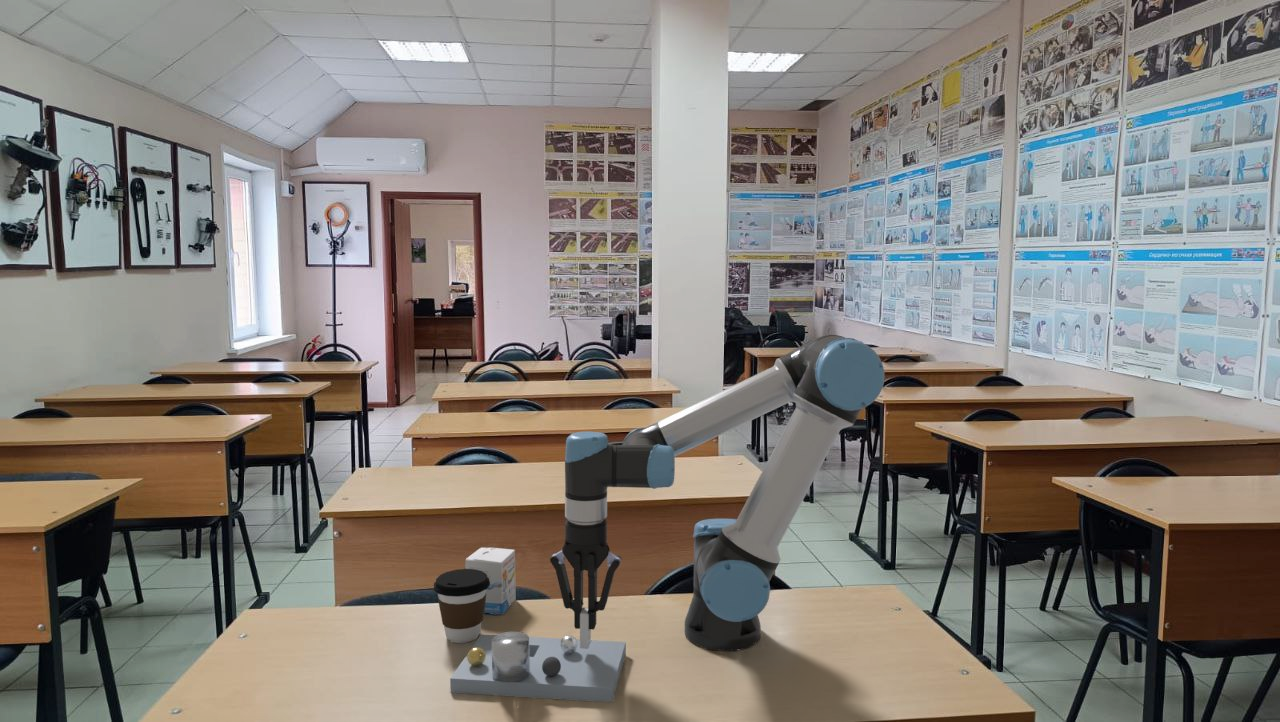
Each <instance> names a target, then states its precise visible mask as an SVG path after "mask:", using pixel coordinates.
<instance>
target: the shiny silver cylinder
mask: <svg viewBox="0 0 1280 722" xmlns="http://www.w3.org/2000/svg"><path fill="white" fill-rule="evenodd" d="M495 635H496V636H495V637H494V638H493V639H492V676H493V678H494V679H495V680H497V681H500V682H517V681H520V680H523V679H525V678H526V677H527V676H528V675H529V673H530V649H529V637H530V636H529V635H528V634H527V633H524V632H522V631H513V630H512V631H505V632H501V633H499V634H495Z"/></svg>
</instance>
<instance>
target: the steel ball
mask: <svg viewBox="0 0 1280 722" xmlns="http://www.w3.org/2000/svg"><path fill="white" fill-rule="evenodd" d="M561 639H562V640H561V642H560V648H561V650H562V651H563V652H564V653H566V654H571V653H573V652H575V650H576V649H577V646H578V642H577V640H576V637H575V636H574V635H570V634H568V635H565V636H563V637H562V638H561Z"/></svg>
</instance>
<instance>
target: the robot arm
mask: <svg viewBox="0 0 1280 722" xmlns="http://www.w3.org/2000/svg"><path fill="white" fill-rule="evenodd" d="M883 365H884V364H883V362H882V360H881V357H880V356H879V355H878V354H877V352H876V351H875V350H874V349H873V348H872V347H871V346H869V345H868V344H866V343H864V342H863V341H862V340H858V339H855V338H851V337H845V336H841V335H837V334H825V335H822V336H819V337H817V338H814V339H812V340H810V341H808V342H806V343H805V344H802V345H800V346H799V347H796V348H795V349H793V350H791V351H790V352H788V353H786V354H784V355H782V356H780V357H779V358H778V357H777V358H776V359H775V362H774V365H773V366H772V367H770V368H767V369H765V370H763V371H760V372H759V373H756V374H754V375H752V376H751V377H750V376H749V378H746V379H745V380H744V379H743V380H742V381H740V382H738V383H736V384H734V385H731V386H729V387H727V388H726V389H724V390H722V391H720V392H719V391H718V392H717V393H715V394H713V395H711V396H708V397H707V398H705V399H703V400H700V401H699V402H696V403H695V404H692V405H690V406H688V407H686V408H684V409H682V410H680V411H677V412H675V413H674V414H671V415H669V416H667V417H665V418H663V419H661V420H659V421H657V422H655V423H652V424H650V425H649V426H646V427H638V428H635V429H633V430H631V431H630V432H629V433H628V434H627V435H626V436H625V438H624V440H623V441H622V444H610V441H609V440H608V438H609V437H608V435H606V433H603V432H600V431H599V432H598V431H596V432H595V431H578V432H573V433H571V434H569V435H568V437H566V441H565V456H564V458H565V459H564V482H565V484H564V486H565V489H564V491H565V492H564V493H565V494H564V517H565V518H566V520H565V521H564V544H563V546H562V549H561V550H560V551H558V552H554V553H552V555H551V557H550V559H549V563H550V564H551V565H552V566H553V568H554V570H555V573H556V577H557V582H558V586H559V591H560V594H561V598H562V599H561V600H562V601H563V603H562V604H563V606H564V608H565V609H570V610H572V611H573V612H574V616H573V618H574V619H573V620H574V622H573V623H574V628H575V629H576V630H577V629H579V640H580V648H583V649H588V647H589V645H590V642H591V640H592V639H591V636H592V634H591V633H592V630H595V629H596V625H597V612H599V611H604V610H605V609H606V606H607V602H608V599H609V595H610V591H611V588H612V584H613V581H614V580H613V579H614V576H615V573H616V570H617V569H618V568H619V566H620V563H621V562H622V557H621V556H620V555H615V554H614V553H612V552H611V551H610V550H611V549H610V546H609V543H608V520H606V518H607V517H608V488H637V489H638V488H644V489H660V488H661V489H662V488H670V487H672V486H673V485H674V482H675V475H676V474H675V472H676V471H675V468H676V465H675V463H676V462H675V461H676V459H675V457H677V456H680V455H681V454H683V453H686V452H687V451H689V450H691V449H693V448H696V447H698V446H700V445H702V444H704V443H706V442H708V441H711V440H713V439H715V438H718V437H719V436H721V435H723V434H725V433H728V432H730V431H732V430H735V429H736V428H738V427H741V426H743V425H744V424H746V423H748V422H752V421H753V420H755V419H757V418H759V417H761V416H763V415H765V414H768V413H770V412H772V411H774V410H776V409H779V408H780V407H782V406H784V405H786V404H789V403H795V409H794V410H793V413H792V414H791V416H790V418H789V420H788V421H787V424H786V425H785V428H784V429H783V432H782V433H781V435H780V437H779V439H778V441H777V443H776V444H775V447H774V449H772V450H773V451H772V453H771V454H770V456H769V457H768V460H767V462H766V464H765V466H764V467H763V469H762V471H761V473H760V475H759V477H758V479H757V480H756V482H755V485H754V486H753V488H752V490H751V492H750V493H749V496H748V497H747V499H746V501H745V503H744V506H743V507H742V509H741V511H740V512H739V514H738V517H737V519H736V518H708V519H703V520H700V521H698V522H697V523H695V525H694V530H693V535H692V538H693V596H692V598H691V601H690V604H689V607H688V610H687V613H686V616H685V619H684V636H685V637H686V639H687V640H688V641H689V642H691V643H692V644H695V645H696V646H699V647H701V648H704V649H709V650H713V651H714V650H715V651H723V652H724V651H725V652H726V651H737V650H739V651H740V650H743V649H748V648H750V647H752V646H754V645H755V644H757V643H758V642H759V641H760V640H761V637H762V636H761V634H762V632H761V629H762V628H761V627H762V626H761V621H760V618H759V614H761V613H762V612H763V610H764V609H765V608H766V606H767V604H768V602H769V600H770V599H769V598H770V593H771V586H770V584H771V583H770V581H771V579H772V577H773V575H774V573H776V570H777V567H779V565H780V562H781V560H782V559H781V557H780V553H779V550H778V549H779V548H778V547H779V546H780V543H781V541H782V540H783V538H784V536H785V534H786V532H787V531H788V528H789V527H790V525H791V523H792V521H793V519H794V518H795V516H796V514H797V512H798V510H799V507H800V506H801V504H802V502H803V501H804V498H805V497H806V495H807V493H808V492H809V490H810V487H811V486H812V485H813V484H812V483H813V482H814V480H815V478H816V477H817V474H818V473H819V471H820V469H821V467H822V465H823V463H824V461H825V460H826V457H827V456H828V454H829V452H830V449H831V448H832V447H833V445H834V442H835V441H836V439H837V437H838V435H839V433H840V431H841V430H843V429H846V428H848V427H849V428H850V427H852V426H854V424H855V422H856V420H857V419H858V417H859V415H860V413H861V411H862V409H864V408H866V407H868V406H870V405H872V404H873V402H875V401H876V399H877V398H878V397H879V396H880V394H881V392H882V390H883V388H884V384H885V368H884V366H883ZM606 559H607V562H606V565H607V567H608V569H607V571H606V575H605V579H604V582H603V586H602V590H601V594H600V598H599V600H598V570H599V568H600V567H601V565H602V564H603V562H604V561H605V560H606ZM566 560H567V562H568V563H569V564H570V566H571V567H572V568H573V592H572V588H571V585H570V581H569V580H570V579H569V577H568V572H567V568H566V565H565V561H566ZM584 571H587V581H588V582H587V583H588V586H587V587H588V588H587V590H588V591H587V607H583V606H584Z"/></svg>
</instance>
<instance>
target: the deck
mask: <svg viewBox="0 0 1280 722" xmlns="http://www.w3.org/2000/svg"><path fill="white" fill-rule="evenodd" d="M496 635H497V634H483V633H482V634H480V636H478V637H479V638H477V639H476V642H475V643H474V645H473V646H472V647H471V649H472V648H474V647H480V648H482V649H483V650H484V651H485V654H486V658H485V661H484V662H483V663H482V664H481V665H480V666H472V665H470V664H469V662H468V660H467V655H468V653H467V654H466V656H465V657H464V659H463V660H462V661H461V663H460V664H459V665H458V666H457V668H456V669H455V671H454V672H453V673H452V675H451V676H450V679H449V682H450V686H449V687H450V689H449V690H450V693H453V694H455V693H456V694H457V693H458V694H470V695H489V696H501V697H502V696H504V697H519V698H520V697H521V698H534V699H552V700H553V699H554V700H566V701H567V700H568V701H583V702H585V701H586V702H600V703H613V700H614V697H615V695H616V691H617V687H618V684H619V681H620V676H621V673H622V670H623V666H624V662H625V659H626V656H627V653H626V652H627V647H626V644H627V643H626V641H612V640H593V639H591V642H590V645H589V647H588V649H583V648H580V639H576V640H577V642H578V646H577V649H576V650H575V652H573V653H571V654H566V653H564V652H563V651H562V650H561V648H560V642H561V640H562V638H555V637H538V636H529V649H530V673H529V675H528V676H527V677H526V678H525V679H523V680H520V681H517V682H500V681H497V680H495V679H494V678H493V676H492V639H493V638H494V637H495V636H496ZM548 657H556V658H557V659H558V660H559V661H560V664H561V669H560V671H559V673H558V674H557V675H555V676H553V677H550V676H547V675H545V674H544V672H543V670H542V664H543V662H544V660H545V659H546V658H548Z"/></svg>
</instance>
